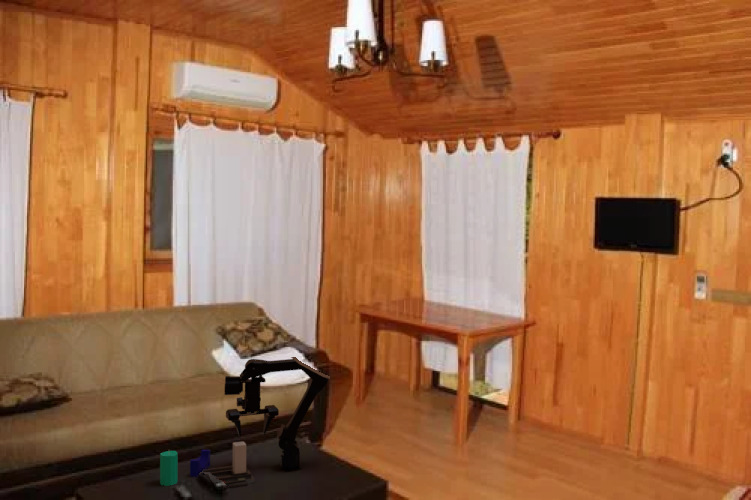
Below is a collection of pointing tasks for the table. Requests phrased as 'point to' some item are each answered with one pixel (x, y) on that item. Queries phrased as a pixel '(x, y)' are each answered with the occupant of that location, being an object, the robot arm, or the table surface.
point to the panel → (233, 477)
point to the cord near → (238, 484)
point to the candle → (168, 468)
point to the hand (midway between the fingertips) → (252, 435)
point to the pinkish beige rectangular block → (239, 459)
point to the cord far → (220, 469)
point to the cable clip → (200, 463)
